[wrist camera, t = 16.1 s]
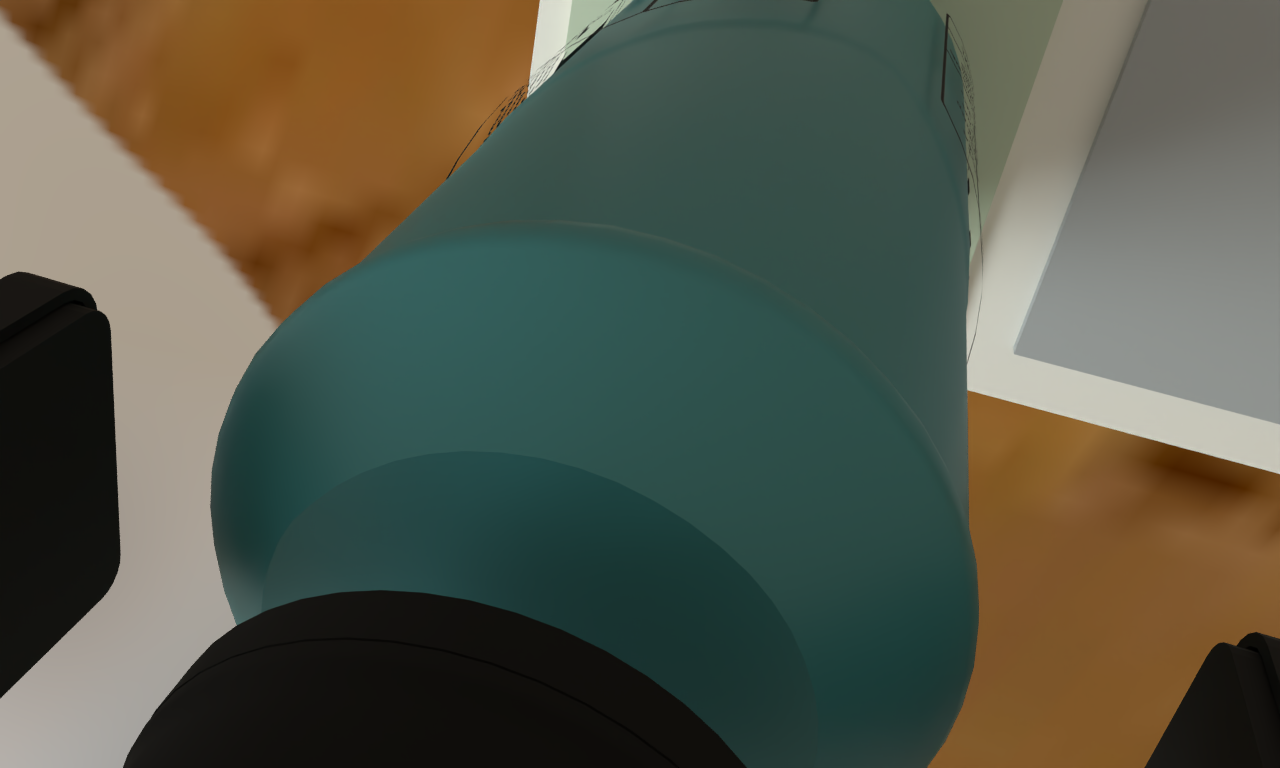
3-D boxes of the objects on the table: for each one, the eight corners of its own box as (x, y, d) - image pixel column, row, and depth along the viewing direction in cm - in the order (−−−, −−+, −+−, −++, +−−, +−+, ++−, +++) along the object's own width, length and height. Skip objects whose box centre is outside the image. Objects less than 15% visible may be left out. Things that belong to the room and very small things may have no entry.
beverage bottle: (691, -157, 21) (-438, 386, 4) (1048, -14, 21) (1399, 1180, 4) (583, 173, 25) (-282, 1216, 8) (888, 300, 24) (708, 1668, 7)
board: (1791, -54, 19) (1842, -40, 18) (1439, 493, 25) (1460, 529, 24) (595, -310, 22) (576, -311, 20) (519, 248, 27) (500, 271, 26)
